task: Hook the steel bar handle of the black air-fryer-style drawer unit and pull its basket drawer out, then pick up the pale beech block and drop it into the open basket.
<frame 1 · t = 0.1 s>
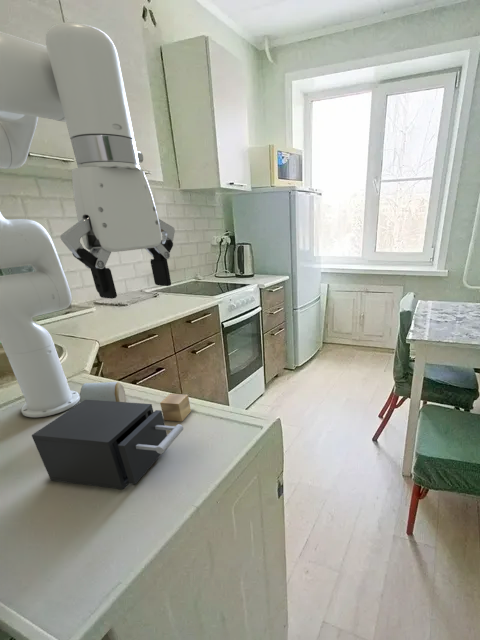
hand: (137, 291, 53), 31 cm above the countertop, tool pointing down, fingers open, 9 cm apart
ceramic mug: (108, 410, 86), on the countertop
fryer: (109, 462, 67), on the countertop
basket: (128, 443, 63), point 5 cm above the countertop, slide at 1.0 cm
block: (177, 415, 81), on the countertop
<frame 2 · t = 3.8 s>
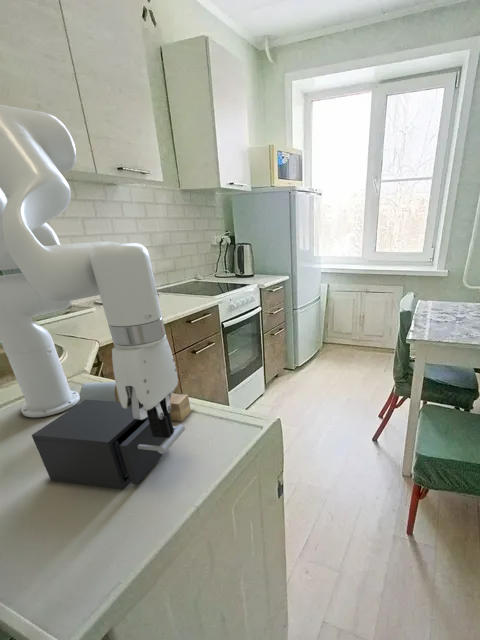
hand: (163, 434, 61), 7 cm above the countertop, tool pointing down, fingers closed
basket: (130, 443, 63), point 5 cm above the countertop, slide at 1.3 cm, touching gripper
everything else where it was.
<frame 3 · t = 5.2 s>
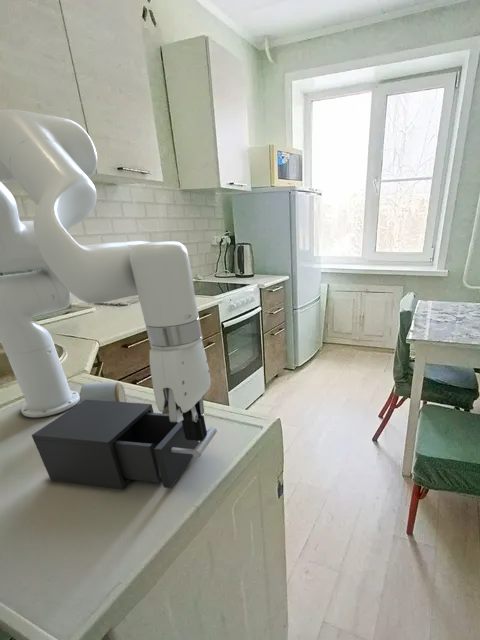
hand: (196, 437, 59), 7 cm above the countertop, tool pointing down, fingers closed
basket: (161, 446, 62), point 5 cm above the countertop, slide at 7.5 cm, touching gripper
everything else where it was.
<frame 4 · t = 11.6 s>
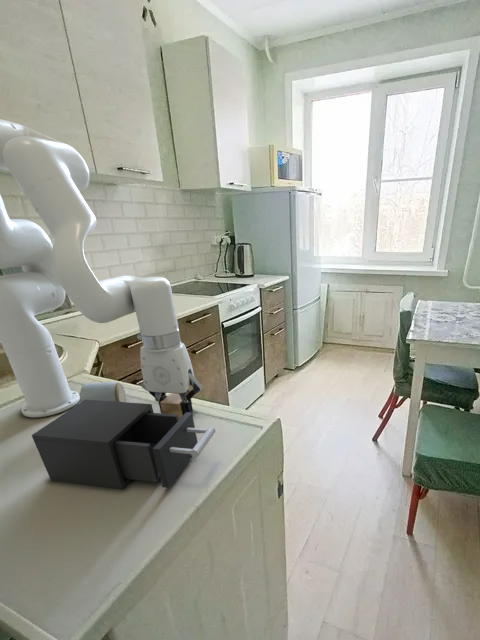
hand: (177, 414, 81), 0 cm above the countertop, tool pointing down, fingers closed on block, 4 cm apart
basket: (159, 446, 62), point 5 cm above the countertop, slide at 7.2 cm
block: (177, 415, 81), on the countertop, touching gripper
everything else where it was.
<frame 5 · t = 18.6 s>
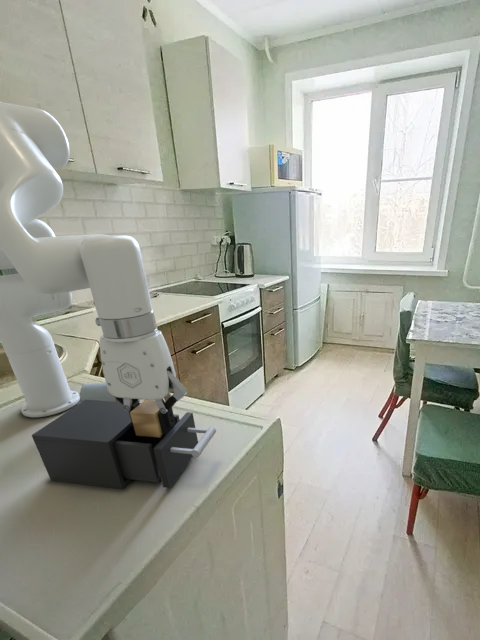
hand: (154, 427, 60), 9 cm above the countertop, tool pointing down, fingers closed on block, 4 cm apart
block: (155, 429, 61), point 8 cm above the countertop, touching gripper
everything else where it was.
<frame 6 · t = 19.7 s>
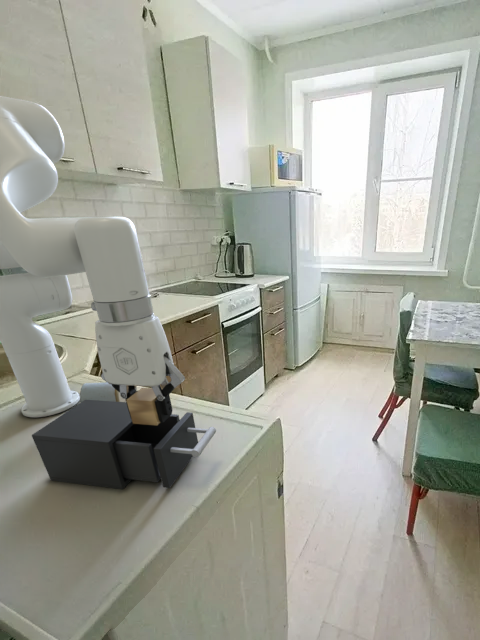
hand: (151, 415, 59), 11 cm above the countertop, tool pointing down, fingers closed on block, 4 cm apart
block: (152, 417, 60), point 11 cm above the countertop, touching gripper
everything else where it was.
when the fingers open (11 cm above the countertop, at t = 27.9 s): block drops 9 cm, resting on basket.
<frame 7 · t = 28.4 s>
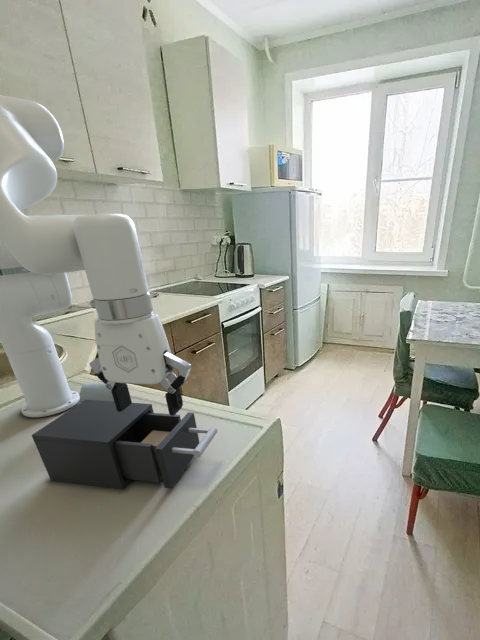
hand: (150, 409, 59), 12 cm above the countertop, tool pointing down, fingers open, 9 cm apart
basket: (161, 446, 62), point 5 cm above the countertop, slide at 7.6 cm, touching block
block: (162, 459, 63), point 2 cm above the countertop, touching basket
everything else where it was.
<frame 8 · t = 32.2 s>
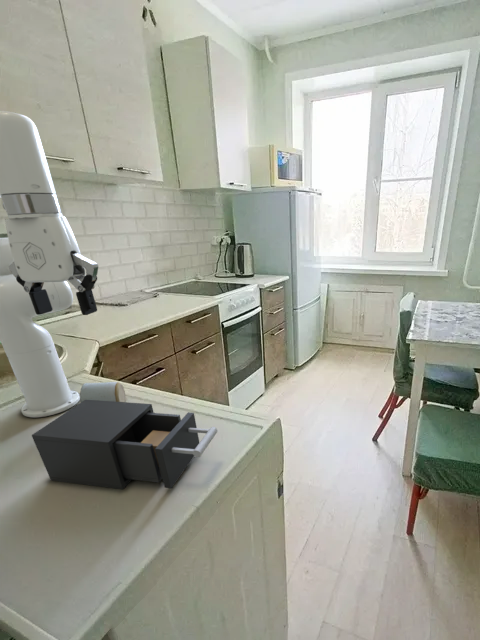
hand: (67, 312, 64), 26 cm above the countertop, tool pointing down, fingers open, 9 cm apart
nothing on the countertop moved.
at the end: basket slide at 7.6 cm; block inside the target area in the basket (0.6 cm from its centre), point 2.0 cm above the fryer's base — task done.
